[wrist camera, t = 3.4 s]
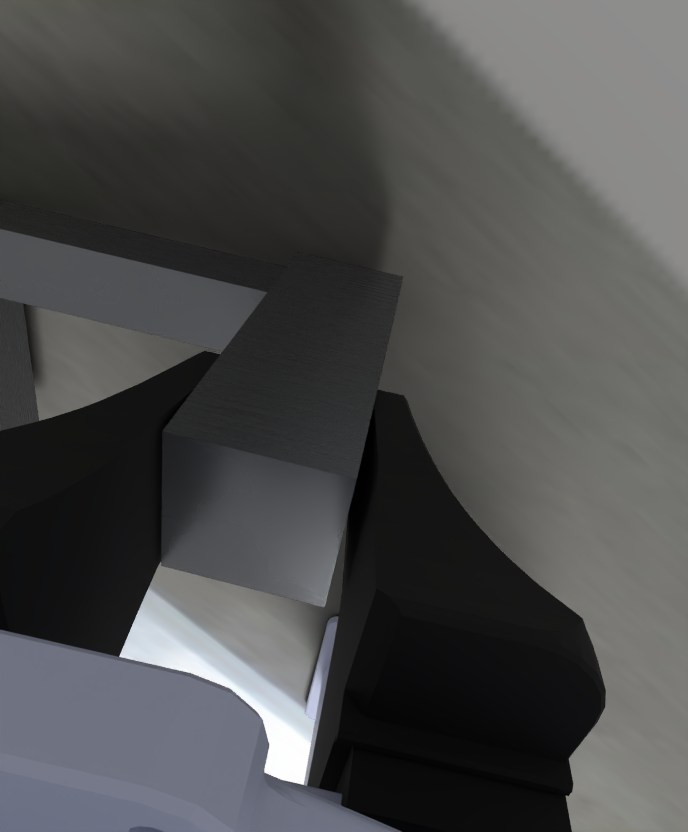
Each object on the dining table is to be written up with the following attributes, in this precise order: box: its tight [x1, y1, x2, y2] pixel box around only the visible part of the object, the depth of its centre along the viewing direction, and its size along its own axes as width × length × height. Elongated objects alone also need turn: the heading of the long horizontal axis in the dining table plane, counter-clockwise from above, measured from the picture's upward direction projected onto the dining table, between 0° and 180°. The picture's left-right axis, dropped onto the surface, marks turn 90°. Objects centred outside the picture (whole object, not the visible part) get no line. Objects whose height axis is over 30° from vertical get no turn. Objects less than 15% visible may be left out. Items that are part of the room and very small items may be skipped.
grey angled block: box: [0, 200, 403, 608], centre depth 15 cm, size 14×8×9 cm, turn 80°
